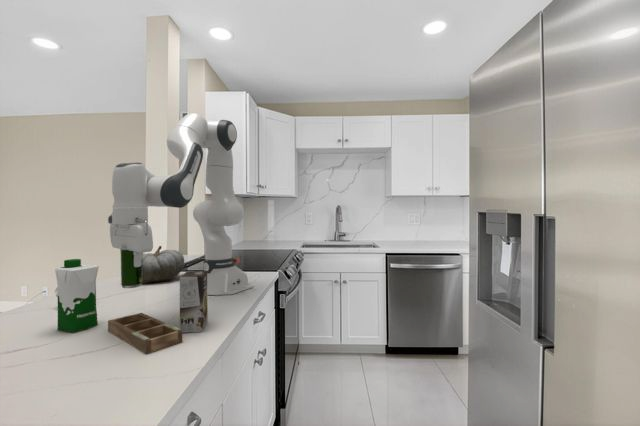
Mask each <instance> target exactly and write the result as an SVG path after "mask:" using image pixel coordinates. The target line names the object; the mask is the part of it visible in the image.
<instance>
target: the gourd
mask: <svg viewBox="0 0 640 426" xmlns="http://www.w3.org/2000/svg"><path fill="white" fill-rule="evenodd" d="M162 247H163V246H162V245H159V246H158V248H157V249H156V251H155V252H154V253H151V252H147V253H143V257H142V284H143V283H144V284H149V283H154V282H155V283H156V282H161V281H171V280H172V279H175V278H176V277H177V276H178V275H179V274H180V273H181V272H182V270H183V269H184V267H185V258H184V255H183V254H182V252H180V251H179V250H177V249H164V250H162V251H161V249H162Z"/></svg>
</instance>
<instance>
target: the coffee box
mask: <svg viewBox="0 0 640 426" xmlns="http://www.w3.org/2000/svg"><path fill="white" fill-rule="evenodd" d="M208 308H209V307H208V295H207V271H204V270H194V271H185V273H182V274H181V276H179V329H180V330H182V334H186V333H202V332H203V330H204V329H205V327H206V325H207V324H208V315H209V314H208Z"/></svg>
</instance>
